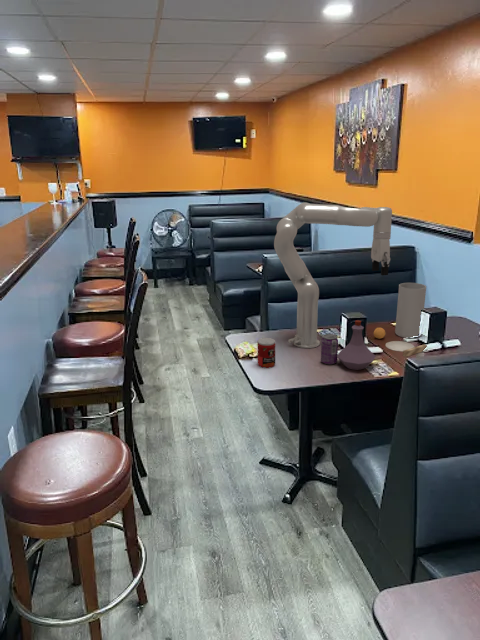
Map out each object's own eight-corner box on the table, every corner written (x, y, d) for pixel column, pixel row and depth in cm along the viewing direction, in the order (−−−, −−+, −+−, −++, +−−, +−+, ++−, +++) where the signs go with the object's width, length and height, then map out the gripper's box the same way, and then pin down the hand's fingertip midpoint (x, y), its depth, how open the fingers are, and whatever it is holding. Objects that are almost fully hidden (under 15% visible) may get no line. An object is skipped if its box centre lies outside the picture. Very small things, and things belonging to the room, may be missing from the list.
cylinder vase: (423, 339, 242) (428, 289, 234) (396, 338, 244) (400, 288, 236) (419, 330, 254) (424, 283, 246) (393, 329, 256) (397, 282, 248)
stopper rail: (405, 356, 221) (405, 351, 221) (402, 355, 223) (403, 350, 222) (426, 350, 228) (427, 345, 227) (423, 349, 229) (424, 344, 229)
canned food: (263, 369, 211) (263, 345, 208) (254, 363, 218) (254, 339, 214) (278, 366, 214) (279, 342, 211) (269, 359, 221) (269, 336, 218)
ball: (379, 341, 241) (380, 330, 239) (370, 337, 245) (371, 327, 243) (387, 338, 243) (388, 328, 242) (378, 335, 248) (379, 325, 246)
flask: (333, 358, 222) (335, 315, 215) (371, 358, 221) (374, 315, 214) (338, 373, 206) (340, 327, 200) (378, 373, 205) (382, 327, 199)
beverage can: (338, 360, 219) (339, 334, 216) (335, 366, 213) (337, 339, 209) (322, 358, 222) (323, 332, 218) (319, 364, 215) (320, 338, 211)
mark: (401, 353, 225) (401, 353, 225) (379, 345, 236) (379, 344, 236) (420, 347, 232) (420, 347, 231) (398, 339, 242) (398, 339, 242)
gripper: (366, 233, 231) (364, 269, 236) (382, 238, 215) (380, 277, 220) (381, 232, 232) (379, 268, 238) (398, 237, 216) (396, 276, 221)
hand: (379, 272), depth 229 cm, fingers open, 9 cm apart
